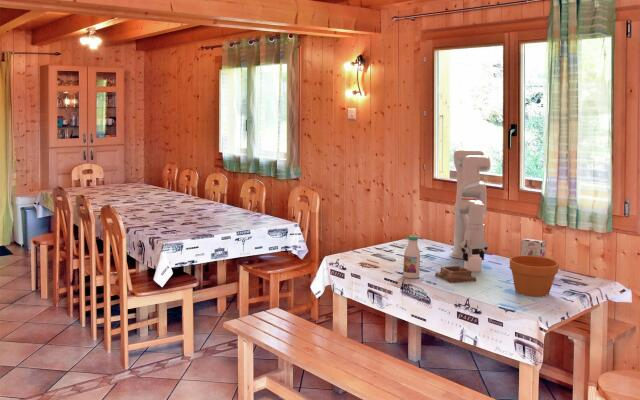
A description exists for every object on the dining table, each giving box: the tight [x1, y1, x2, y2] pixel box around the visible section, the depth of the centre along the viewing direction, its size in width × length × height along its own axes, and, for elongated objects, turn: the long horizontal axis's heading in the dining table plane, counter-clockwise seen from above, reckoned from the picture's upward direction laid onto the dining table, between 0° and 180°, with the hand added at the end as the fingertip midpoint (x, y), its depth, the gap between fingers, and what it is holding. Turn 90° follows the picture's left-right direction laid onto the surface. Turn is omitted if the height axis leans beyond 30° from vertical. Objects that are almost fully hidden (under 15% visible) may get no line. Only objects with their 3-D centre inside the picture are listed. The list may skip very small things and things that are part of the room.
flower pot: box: [509, 255, 560, 298], centre depth 289 cm, size 21×21×15 cm
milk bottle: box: [402, 235, 421, 279], centre depth 310 cm, size 8×8×20 cm
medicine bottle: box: [463, 249, 483, 273], centre depth 328 cm, size 7×7×12 cm
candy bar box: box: [520, 237, 547, 258], centre depth 329 cm, size 11×5×16 cm, turn 47°
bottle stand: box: [434, 265, 477, 284], centre depth 311 cm, size 14×14×4 cm
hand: (473, 260), depth 328 cm, fingers open, 9 cm apart
